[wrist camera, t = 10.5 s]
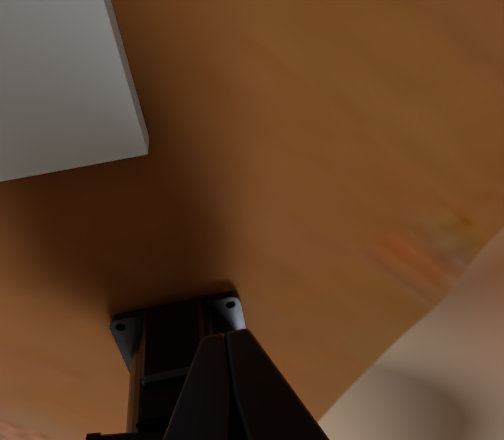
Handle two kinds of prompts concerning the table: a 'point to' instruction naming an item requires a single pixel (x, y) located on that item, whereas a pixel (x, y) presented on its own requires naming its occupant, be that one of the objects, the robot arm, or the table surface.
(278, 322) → the table surface
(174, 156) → the table surface
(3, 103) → the board
